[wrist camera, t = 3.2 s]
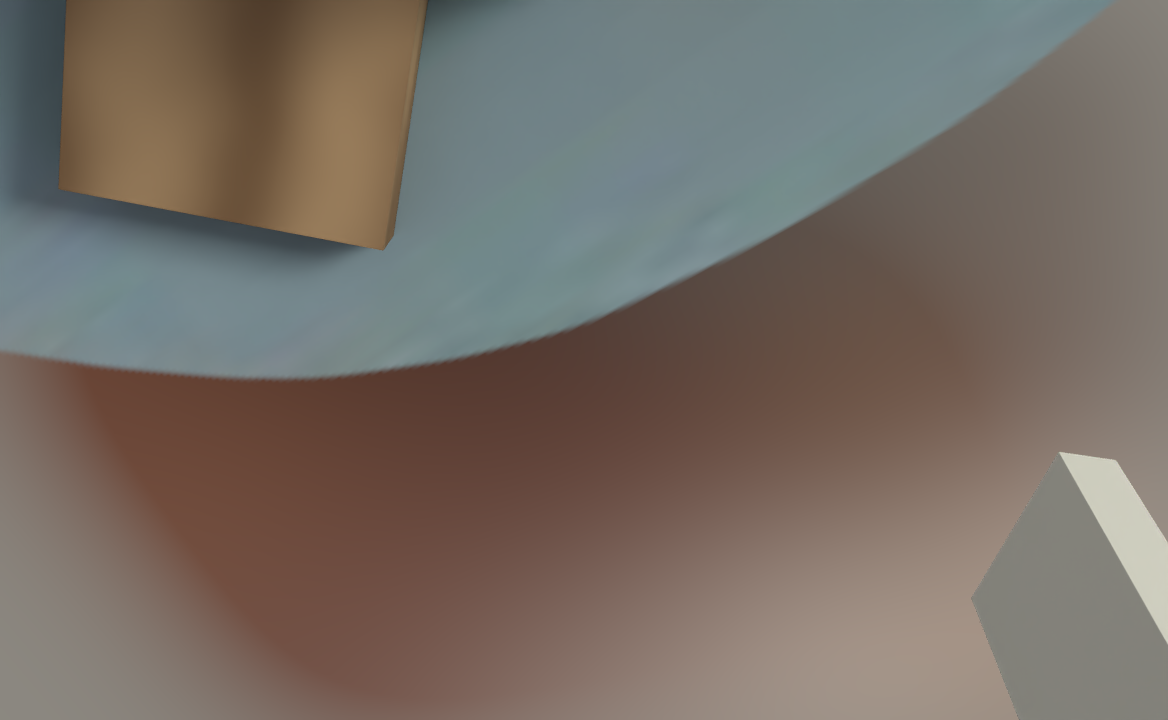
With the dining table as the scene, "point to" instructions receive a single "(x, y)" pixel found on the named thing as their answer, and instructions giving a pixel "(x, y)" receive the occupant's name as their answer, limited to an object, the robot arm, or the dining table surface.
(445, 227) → the dining table surface
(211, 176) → the plinth
